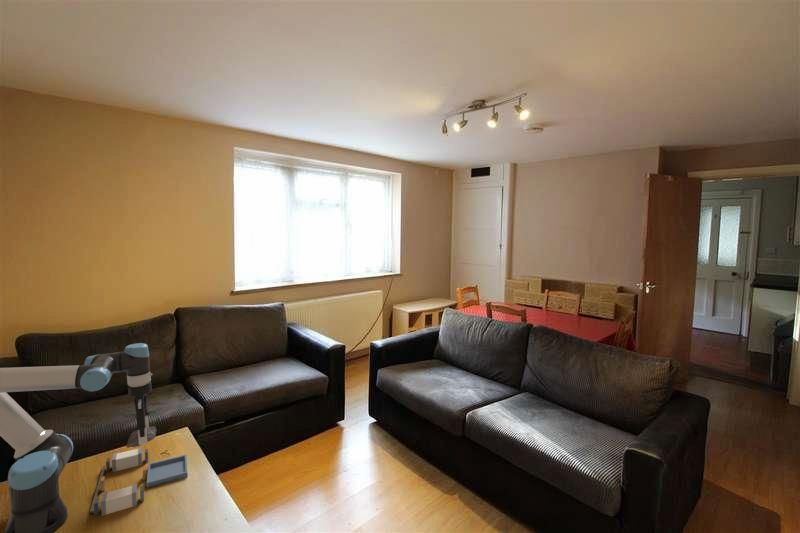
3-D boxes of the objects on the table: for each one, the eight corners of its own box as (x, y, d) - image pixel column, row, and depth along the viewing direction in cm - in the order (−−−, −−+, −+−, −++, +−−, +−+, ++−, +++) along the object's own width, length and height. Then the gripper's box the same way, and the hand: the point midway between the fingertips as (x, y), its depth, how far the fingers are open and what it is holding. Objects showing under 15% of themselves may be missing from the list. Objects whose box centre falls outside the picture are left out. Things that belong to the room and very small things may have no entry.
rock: (159, 436, 149) (155, 428, 148) (127, 452, 143) (123, 443, 142) (157, 428, 156) (154, 420, 155) (127, 443, 150) (123, 434, 149)
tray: (146, 488, 145) (146, 483, 145) (148, 468, 157) (148, 463, 157) (187, 476, 152) (187, 472, 152) (186, 458, 164) (186, 454, 164)
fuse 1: (112, 472, 154) (111, 459, 153) (114, 465, 159) (113, 453, 158) (141, 465, 159) (141, 453, 159) (142, 458, 164) (142, 446, 163)
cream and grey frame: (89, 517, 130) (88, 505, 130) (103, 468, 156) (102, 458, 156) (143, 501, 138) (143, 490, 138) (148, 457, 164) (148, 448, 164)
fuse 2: (101, 516, 131) (100, 501, 130) (104, 506, 136) (103, 492, 135) (136, 505, 136) (135, 492, 136) (137, 496, 141) (137, 483, 140)
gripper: (149, 391, 139) (154, 448, 142) (152, 372, 158) (156, 422, 160) (124, 396, 136) (129, 454, 138) (130, 375, 154) (135, 427, 156)
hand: (144, 437), depth 149 cm, fingers closed on rock, 9 cm apart
